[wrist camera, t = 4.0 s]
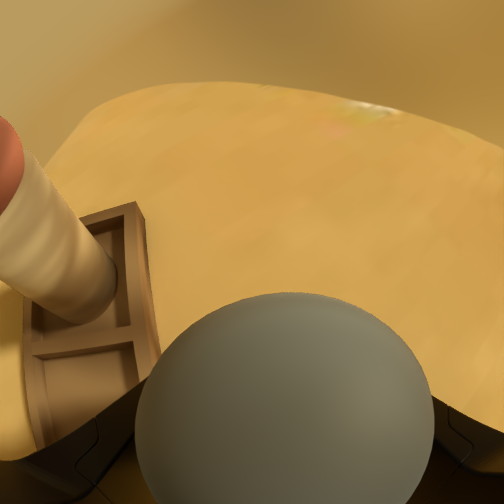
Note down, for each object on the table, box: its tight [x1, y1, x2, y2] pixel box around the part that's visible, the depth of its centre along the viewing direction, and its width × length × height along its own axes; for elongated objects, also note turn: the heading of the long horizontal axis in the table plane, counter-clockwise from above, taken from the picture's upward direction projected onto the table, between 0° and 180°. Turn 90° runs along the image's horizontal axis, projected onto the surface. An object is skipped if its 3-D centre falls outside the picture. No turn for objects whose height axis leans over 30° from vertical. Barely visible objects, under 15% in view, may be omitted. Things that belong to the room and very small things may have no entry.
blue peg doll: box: [135, 292, 434, 504], centre depth 7 cm, size 5×5×13 cm
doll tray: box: [23, 201, 161, 451], centre depth 13 cm, size 16×9×2 cm, turn 15°
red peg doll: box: [0, 116, 118, 324], centre depth 10 cm, size 5×5×13 cm
